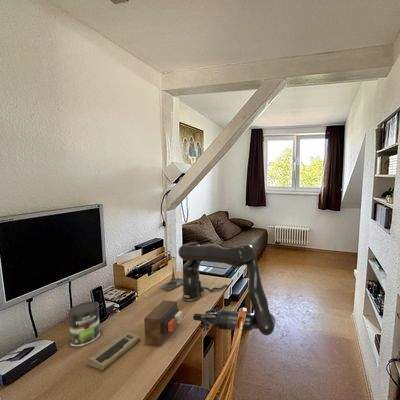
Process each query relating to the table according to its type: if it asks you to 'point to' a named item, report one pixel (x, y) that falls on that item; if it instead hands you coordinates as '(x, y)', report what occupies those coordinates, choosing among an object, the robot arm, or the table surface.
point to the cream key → (178, 316)
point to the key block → (159, 322)
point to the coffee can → (84, 323)
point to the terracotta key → (172, 325)
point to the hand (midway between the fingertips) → (193, 316)
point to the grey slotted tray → (113, 351)
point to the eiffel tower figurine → (172, 283)
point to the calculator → (110, 307)
